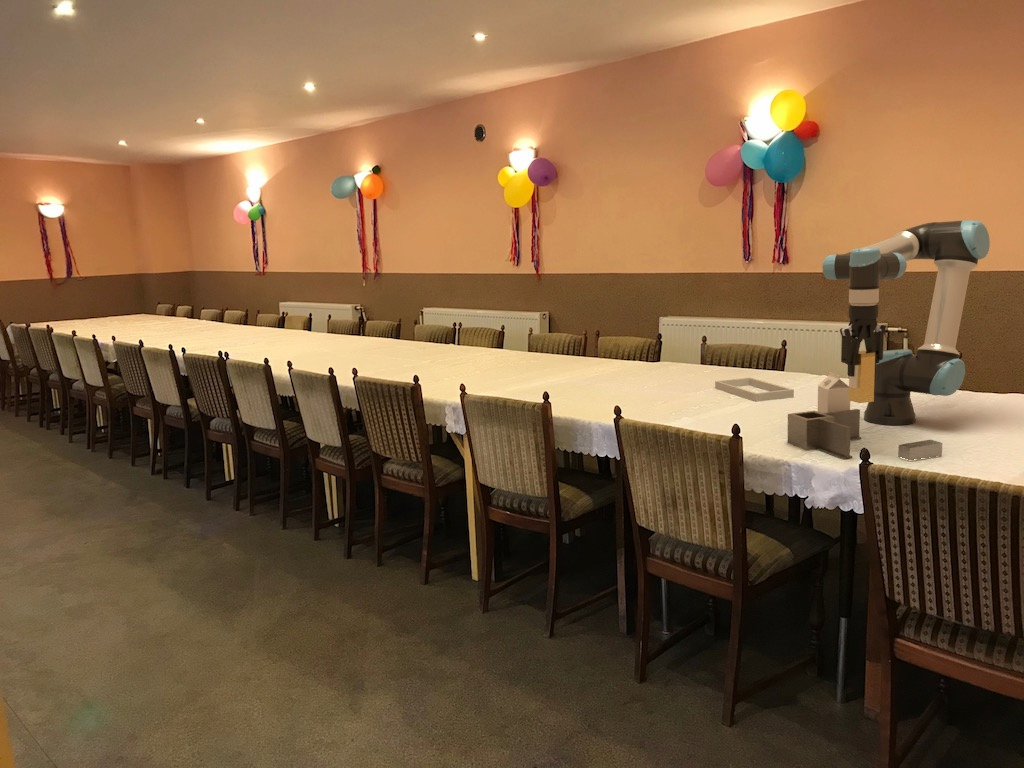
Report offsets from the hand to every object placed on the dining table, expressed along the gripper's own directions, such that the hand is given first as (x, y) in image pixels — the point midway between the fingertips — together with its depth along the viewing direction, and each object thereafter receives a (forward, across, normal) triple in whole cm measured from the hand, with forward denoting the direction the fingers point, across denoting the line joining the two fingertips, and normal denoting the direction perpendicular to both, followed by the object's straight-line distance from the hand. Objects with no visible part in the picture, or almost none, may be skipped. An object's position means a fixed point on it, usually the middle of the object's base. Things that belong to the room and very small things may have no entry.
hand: (861, 386), depth 212 cm
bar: (+19, -9, +13) cm, 25 cm away
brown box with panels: (+19, +3, -4) cm, 19 cm away
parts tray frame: (+19, -20, -84) cm, 88 cm away
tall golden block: (+4, 0, 0) cm, 4 cm away
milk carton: (+19, -6, -18) cm, 27 cm away
